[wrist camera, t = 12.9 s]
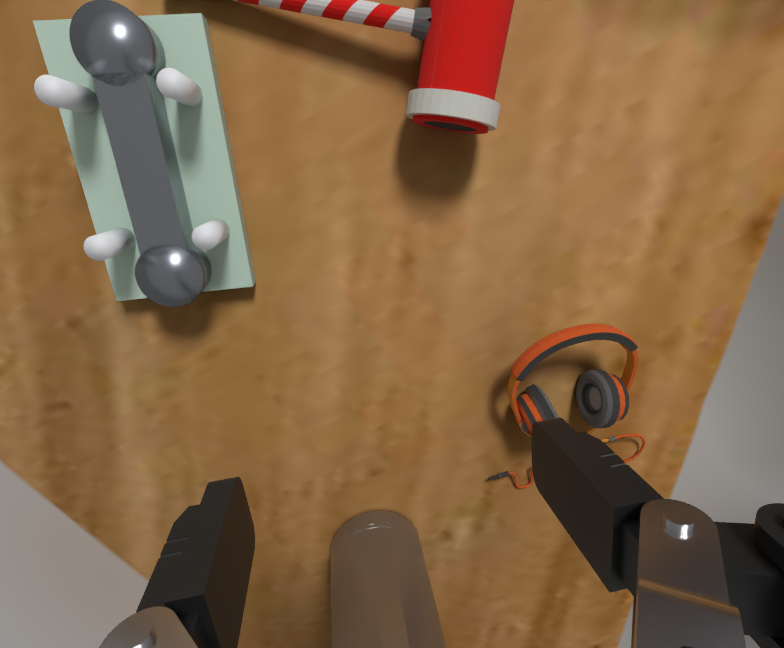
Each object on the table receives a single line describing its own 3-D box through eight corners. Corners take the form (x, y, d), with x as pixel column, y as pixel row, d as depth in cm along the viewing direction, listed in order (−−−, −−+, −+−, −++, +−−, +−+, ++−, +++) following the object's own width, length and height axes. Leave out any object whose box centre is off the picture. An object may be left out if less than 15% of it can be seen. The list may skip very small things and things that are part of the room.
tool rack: (255, 281, 36) (244, 300, 31) (124, 296, 35) (90, 318, 30) (207, 20, 30) (183, -10, 25) (46, 27, 29) (-13, -2, 24)
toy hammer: (166, 81, 31) (129, 61, 25) (165, -130, 28) (121, -212, 22) (478, 137, 35) (509, 131, 29) (512, -41, 32) (556, -90, 26)
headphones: (626, 443, 50) (652, 289, 39) (657, 481, 46) (697, 321, 35) (482, 482, 50) (467, 336, 38) (500, 525, 45) (490, 375, 34)
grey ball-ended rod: (81, 15, 28) (58, 1, 26) (156, 12, 28) (140, -2, 26) (157, 300, 34) (144, 310, 32) (216, 293, 35) (208, 303, 32)
